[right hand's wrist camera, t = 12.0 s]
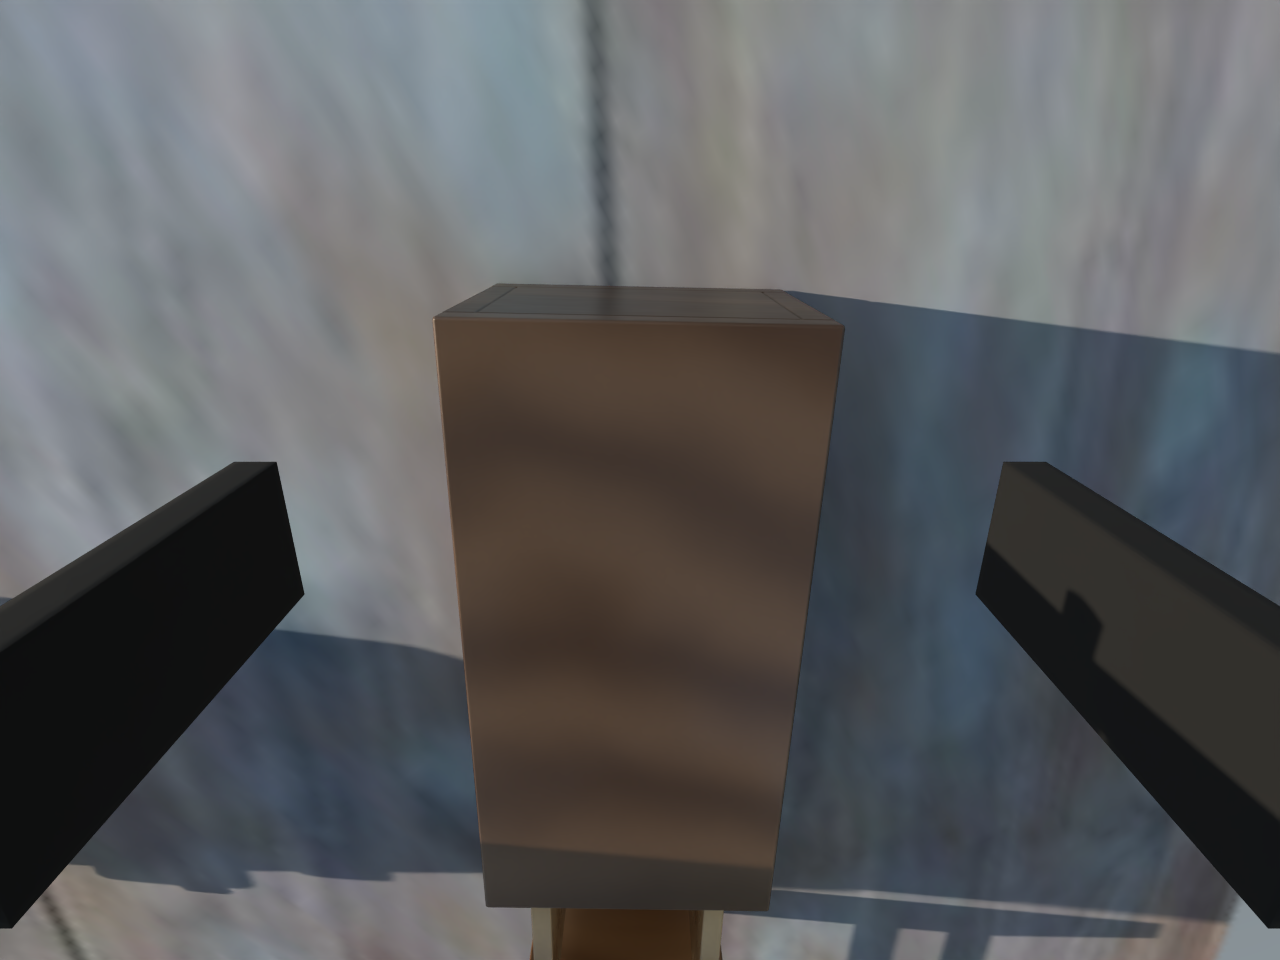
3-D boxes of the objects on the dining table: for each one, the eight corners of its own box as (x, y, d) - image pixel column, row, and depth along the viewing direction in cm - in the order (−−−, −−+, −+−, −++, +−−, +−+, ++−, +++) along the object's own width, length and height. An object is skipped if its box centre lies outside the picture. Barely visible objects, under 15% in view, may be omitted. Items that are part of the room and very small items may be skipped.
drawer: (707, 994, 38) (720, 1137, 32) (543, 992, 38) (525, 1135, 32) (744, 584, 28) (772, 682, 22) (522, 579, 28) (491, 677, 22)
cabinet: (738, 747, 33) (769, 912, 25) (521, 744, 32) (485, 908, 25) (782, 289, 25) (846, 325, 17) (495, 283, 25) (430, 316, 17)
